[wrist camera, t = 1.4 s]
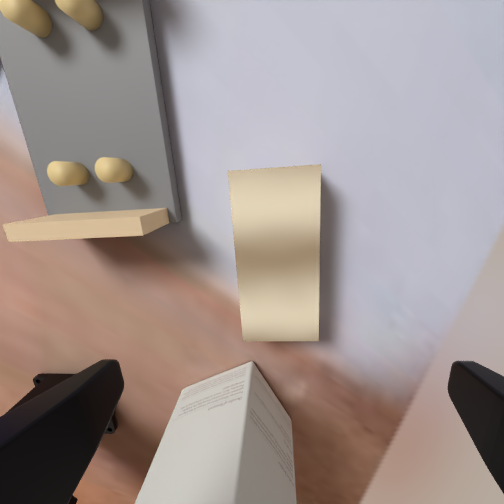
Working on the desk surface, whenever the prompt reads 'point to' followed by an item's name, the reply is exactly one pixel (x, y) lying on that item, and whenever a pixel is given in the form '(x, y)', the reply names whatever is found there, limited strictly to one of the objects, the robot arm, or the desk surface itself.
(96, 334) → the desk surface
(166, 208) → the peg base
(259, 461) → the supplement box
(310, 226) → the board
